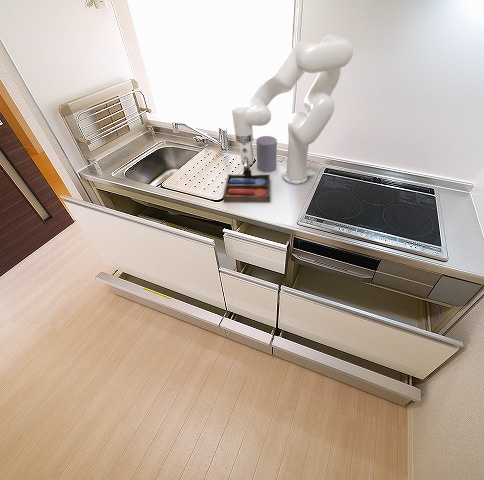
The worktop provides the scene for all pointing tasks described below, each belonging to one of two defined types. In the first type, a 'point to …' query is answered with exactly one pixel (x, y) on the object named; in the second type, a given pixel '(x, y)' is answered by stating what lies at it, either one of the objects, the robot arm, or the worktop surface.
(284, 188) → the worktop surface
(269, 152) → the container
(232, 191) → the red spoon
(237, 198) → the cutlery tray
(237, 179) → the blue spoon
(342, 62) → the robot arm
